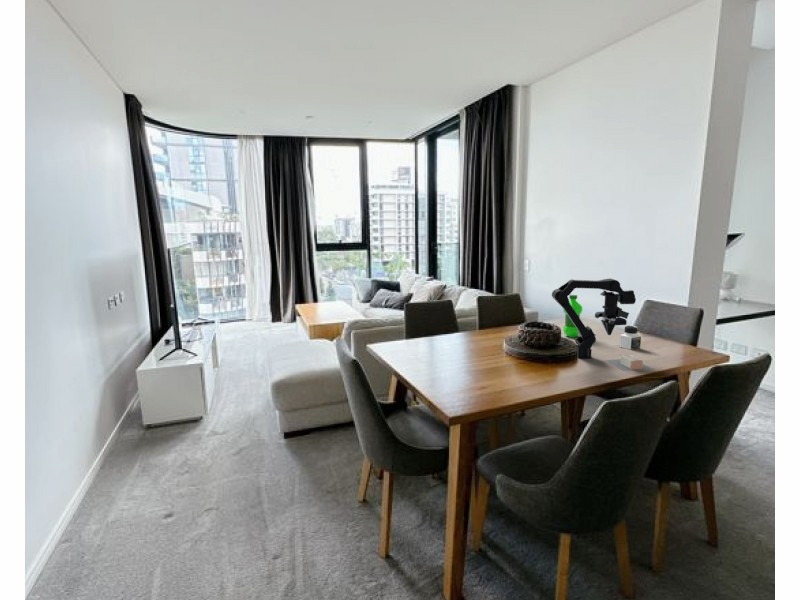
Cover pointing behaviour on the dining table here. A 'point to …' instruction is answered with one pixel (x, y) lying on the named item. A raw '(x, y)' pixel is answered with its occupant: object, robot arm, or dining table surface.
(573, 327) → the plastic bottle
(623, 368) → the gray mat
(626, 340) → the medicine bottle
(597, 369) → the dining table surface
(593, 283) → the robot arm
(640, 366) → the cream block
